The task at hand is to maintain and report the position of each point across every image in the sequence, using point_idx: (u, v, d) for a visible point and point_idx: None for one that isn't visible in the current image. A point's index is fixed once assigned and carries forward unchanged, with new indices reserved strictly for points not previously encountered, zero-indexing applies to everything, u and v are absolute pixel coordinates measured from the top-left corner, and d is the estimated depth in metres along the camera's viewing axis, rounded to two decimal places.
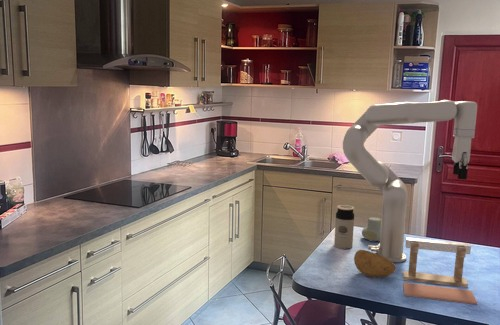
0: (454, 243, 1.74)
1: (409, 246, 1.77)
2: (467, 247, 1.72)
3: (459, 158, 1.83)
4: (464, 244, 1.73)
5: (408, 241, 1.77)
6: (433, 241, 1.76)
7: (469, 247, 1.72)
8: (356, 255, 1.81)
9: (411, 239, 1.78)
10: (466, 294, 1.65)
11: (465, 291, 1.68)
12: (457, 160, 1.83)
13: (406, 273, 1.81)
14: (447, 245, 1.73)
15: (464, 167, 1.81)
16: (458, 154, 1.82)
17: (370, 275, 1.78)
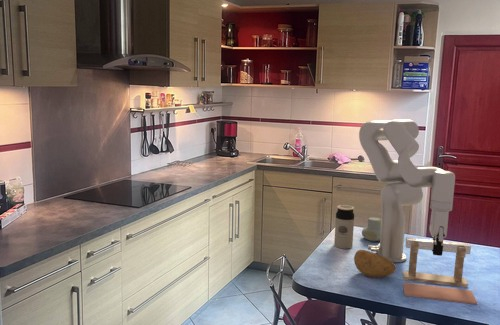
0: (454, 243, 1.74)
1: (409, 246, 1.77)
2: (467, 247, 1.72)
3: (435, 233, 1.70)
4: (464, 244, 1.73)
5: (408, 241, 1.77)
6: (433, 241, 1.76)
7: (469, 247, 1.72)
8: (356, 255, 1.81)
9: (411, 239, 1.78)
10: (466, 294, 1.65)
11: (465, 291, 1.68)
12: (433, 234, 1.71)
13: (406, 273, 1.81)
14: (447, 245, 1.73)
15: (439, 244, 1.72)
16: (434, 228, 1.70)
17: (370, 275, 1.78)
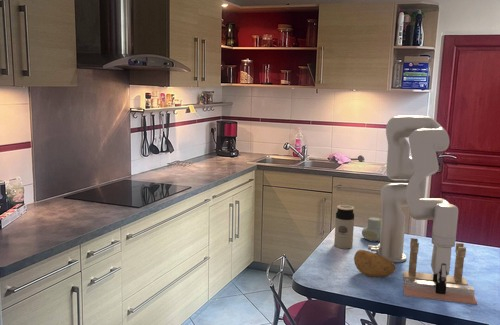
0: (457, 286, 1.64)
1: (409, 288, 1.67)
2: (470, 291, 1.62)
3: (437, 270, 1.60)
4: (467, 288, 1.63)
5: (408, 283, 1.67)
6: (434, 283, 1.66)
7: (472, 291, 1.62)
8: (356, 255, 1.81)
9: (411, 280, 1.68)
10: None
11: None
12: (435, 272, 1.61)
13: (406, 273, 1.81)
14: (449, 288, 1.64)
15: (442, 282, 1.60)
16: (436, 265, 1.60)
17: (370, 275, 1.78)
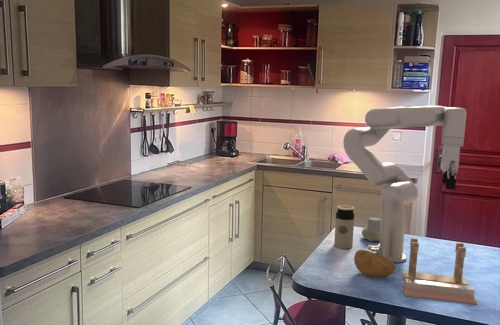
0: (457, 286, 1.64)
1: (409, 288, 1.67)
2: (470, 291, 1.62)
3: (447, 167, 1.74)
4: (467, 288, 1.63)
5: (408, 283, 1.67)
6: (434, 283, 1.66)
7: (472, 291, 1.62)
8: (356, 255, 1.81)
9: (411, 280, 1.68)
10: None
11: None
12: (445, 169, 1.74)
13: (406, 273, 1.81)
14: (449, 288, 1.64)
15: (452, 177, 1.72)
16: (446, 163, 1.73)
17: (370, 275, 1.78)
